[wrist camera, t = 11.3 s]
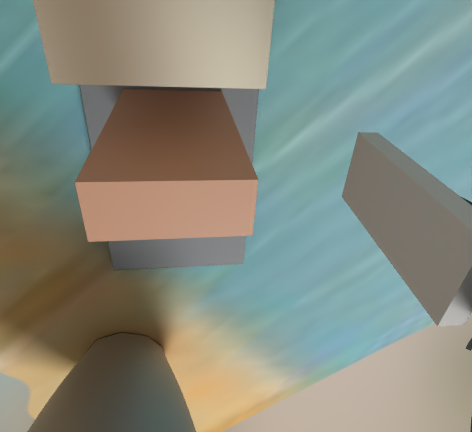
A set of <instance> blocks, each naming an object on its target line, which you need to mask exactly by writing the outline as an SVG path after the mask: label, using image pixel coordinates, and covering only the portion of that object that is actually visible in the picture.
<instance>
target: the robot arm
mask: <svg viewBox="0 0 472 432" xmlns="http://www.w3.org/2000/svg"><path fill="white" fill-rule="evenodd" d="M342 197H343V199H344V200H345V202H346V203H347V204H348V206H349V207H350V208H351V210H352V211H353V212H354V214H355V215H356V216H357V218H358V219H359V221H360V222H361V223H362V225H363V226H364V227H365V229H366V230H367V231H368V233H369V234H370V235H371V237H372V238H373V239H374V241H375V242H376V244H377V245H378V246H379V248H380V249H381V250H382V252H383V253H384V254H385V256H386V257H387V258H388V260H389V261H390V262H391V264H392V265H393V267H394V268H395V269H396V271H397V272H398V273H399V275H400V276H401V277H402V279H403V280H404V281H405V283H406V284H407V286H408V287H409V288H410V290H411V291H412V292H413V294H414V295H415V296H416V298H417V299H418V300H419V302H420V303H421V304H422V306H423V307H424V309H425V310H426V311H427V313H428V314H429V315H430V317H431V318H432V319H433V321H434V322H435V323H436V325H437V326H450V325H464V324H465V323H466V321H467V319H468V318H469V316H470V315H471V313H472V202H470V201H468V200H466V199H464V198H462V197H460V196H459V195H457V194H456V193H455V192H454V191H452V190H451V189H450V188H448V187H447V186H446V185H445V184H443V183H442V182H441V181H439V180H438V179H437V178H436V177H434V176H433V175H432V174H430V173H429V172H428V171H426V170H425V169H424V168H423V167H421V166H420V165H419V164H417V163H416V162H415V161H414V160H412V159H411V158H410V157H408V156H407V155H406V154H405V153H403V152H402V151H401V150H399V149H398V148H397V147H395V146H394V145H393V144H392V143H390V142H389V141H388V140H386V139H385V138H384V137H383V136H381V135H380V134H379V133H361V132H358V136H357V140H356V144H355V147H354V151H353V155H352V159H351V163H350V167H349V171H348V175H347V179H346V183H345V186H344V190H343V194H342ZM466 349H468V350H471V349H472V339H471V340H470V341H469V343H468V345H467V347H466ZM471 432H472V419H471Z"/></svg>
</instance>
